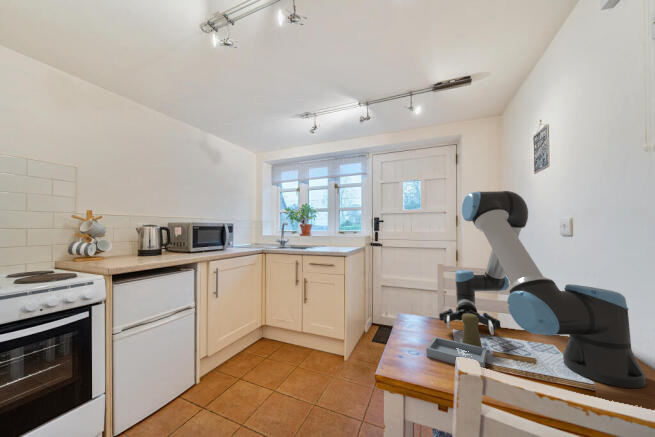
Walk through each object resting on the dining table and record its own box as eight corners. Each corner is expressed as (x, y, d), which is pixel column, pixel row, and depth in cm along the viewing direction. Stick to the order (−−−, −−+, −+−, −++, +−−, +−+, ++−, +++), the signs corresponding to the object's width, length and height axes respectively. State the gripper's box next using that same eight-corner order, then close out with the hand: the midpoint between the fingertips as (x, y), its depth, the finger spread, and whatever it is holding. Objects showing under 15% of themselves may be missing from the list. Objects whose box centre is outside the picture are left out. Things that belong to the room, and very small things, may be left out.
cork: (486, 348, 82) (484, 315, 83) (473, 352, 80) (471, 318, 81) (470, 341, 88) (468, 310, 89) (458, 344, 86) (456, 313, 87)
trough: (487, 356, 77) (486, 348, 77) (483, 372, 69) (483, 362, 69) (435, 344, 87) (434, 336, 87) (426, 356, 78) (426, 348, 78)
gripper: (502, 323, 99) (513, 345, 80) (436, 315, 110) (431, 332, 92) (501, 304, 99) (511, 321, 81) (435, 298, 111) (430, 312, 92)
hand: (469, 327), depth 86 cm, fingers open, 13 cm apart
